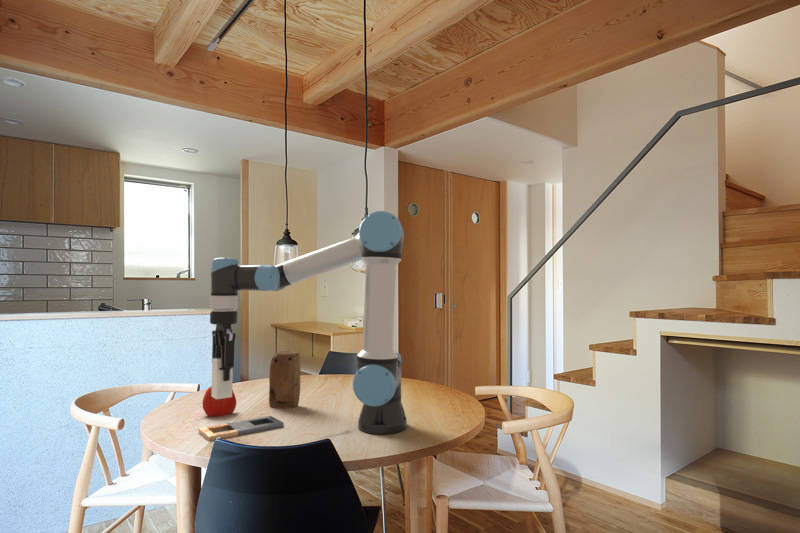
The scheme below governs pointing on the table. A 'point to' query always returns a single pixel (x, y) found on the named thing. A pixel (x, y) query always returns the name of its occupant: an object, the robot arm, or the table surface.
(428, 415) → the table surface
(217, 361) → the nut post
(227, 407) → the apple
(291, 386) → the block
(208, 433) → the grey slotted base plate
